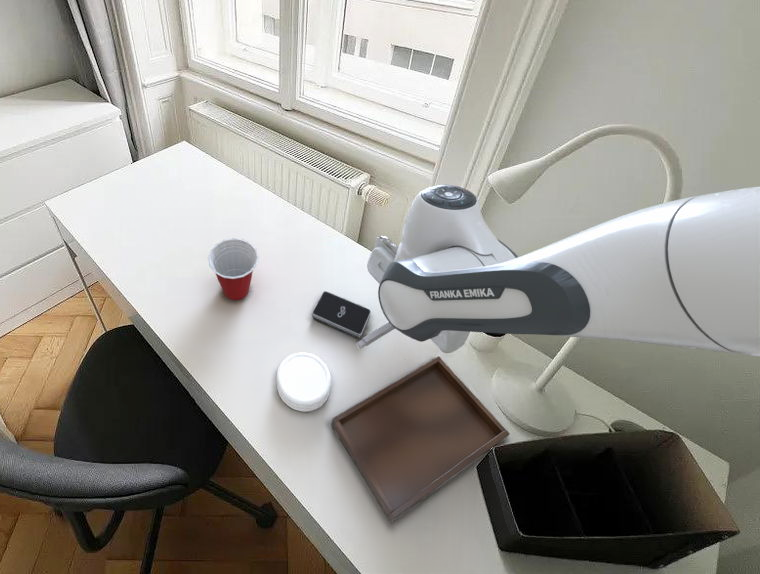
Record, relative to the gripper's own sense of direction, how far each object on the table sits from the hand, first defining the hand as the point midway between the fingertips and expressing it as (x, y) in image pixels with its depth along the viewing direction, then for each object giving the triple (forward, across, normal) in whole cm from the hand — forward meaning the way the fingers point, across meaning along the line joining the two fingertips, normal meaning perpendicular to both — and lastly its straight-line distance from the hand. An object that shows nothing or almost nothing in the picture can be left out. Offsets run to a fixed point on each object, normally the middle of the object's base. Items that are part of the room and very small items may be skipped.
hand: (404, 320), depth 74 cm
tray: (+12, +13, -6) cm, 19 cm away
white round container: (+12, -3, -19) cm, 23 cm away
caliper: (+2, 0, 0) cm, 2 cm away
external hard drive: (+12, -12, -4) cm, 17 cm away
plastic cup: (+12, -29, -21) cm, 38 cm away
